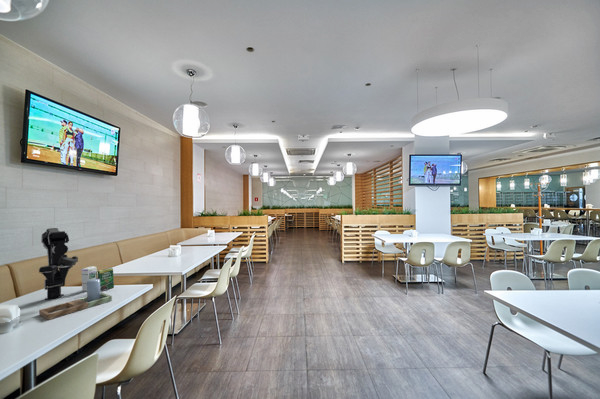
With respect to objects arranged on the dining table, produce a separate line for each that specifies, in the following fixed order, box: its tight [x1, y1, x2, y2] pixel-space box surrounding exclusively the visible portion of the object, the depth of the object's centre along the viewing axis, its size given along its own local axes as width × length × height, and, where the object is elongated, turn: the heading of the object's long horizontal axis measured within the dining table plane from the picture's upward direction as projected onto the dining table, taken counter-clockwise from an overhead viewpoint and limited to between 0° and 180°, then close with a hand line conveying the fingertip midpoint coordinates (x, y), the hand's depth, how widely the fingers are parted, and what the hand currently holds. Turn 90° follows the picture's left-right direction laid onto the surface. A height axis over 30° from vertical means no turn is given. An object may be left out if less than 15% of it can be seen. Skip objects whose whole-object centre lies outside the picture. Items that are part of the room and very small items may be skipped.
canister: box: [86, 278, 102, 303], centre depth 146 cm, size 6×6×12 cm
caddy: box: [38, 292, 113, 321], centre depth 140 cm, size 27×12×2 cm, turn 149°
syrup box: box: [80, 266, 98, 292], centre depth 169 cm, size 6×6×14 cm
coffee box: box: [97, 267, 115, 292], centre depth 168 cm, size 8×3×13 cm, turn 146°
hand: (58, 281), depth 144 cm, fingers open, 9 cm apart
